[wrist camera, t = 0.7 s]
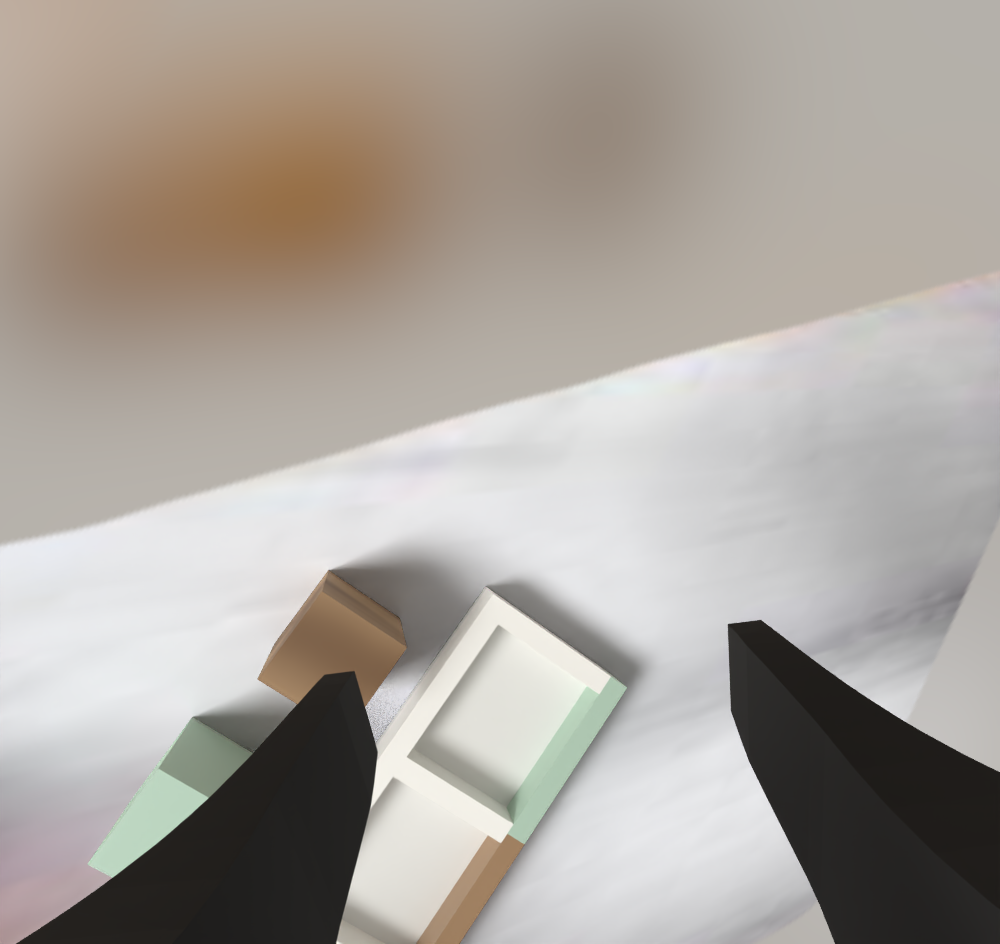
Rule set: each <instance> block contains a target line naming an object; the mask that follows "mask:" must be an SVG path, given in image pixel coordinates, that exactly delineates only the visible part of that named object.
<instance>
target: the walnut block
mask: <svg viewBox="0 0 1000 944" xmlns="http://www.w3.org/2000/svg"><path fill="white" fill-rule="evenodd" d="M406 648H407V646H406V641H405V637H404V633H403V629H402V625H401V621H400V618H399V617H397V616H396V615H394V614H393V613H391V612H390V611H388V610H387V609H385V608H384V607H382V606H381V605H379V604H378V603H376V602H375V601H373V600H372V599H370V598H369V597H367V596H366V595H364V594H363V593H361V592H360V591H358V590H357V589H355V588H354V587H353V586H351V585H350V584H348V583H347V582H345V581H344V580H342V579H341V578H339V577H338V576H336V575H335V574H333V573H332V572H330V571H329V570H328V572H327V573H326V574H325V576H324V577H323V578H322V580H321V581H320V582H319V584H318V585H317V587H316V588H315V589H314V591H313V592H312V593H311V595H310V596H309V597H308V599H307V600H306V602H305V603H304V604H303V606H302V607H301V608H300V610H299V611H298V612H297V614H296V615H295V617H294V618H293V619H292V621H291V622H290V623H289V625H288V626H287V627H286V629H285V630H284V632H283V633H282V634H281V636H280V637H279V638H278V640H277V641H276V642H275V644H274V646H273V648H272V650H271V652H270V654H269V656H268V659H267V661H266V663H265V665H264V667H263V669H262V671H261V673H260V675H259V677H258V680H259V681H261V682H263V683H264V684H266V685H267V686H269V687H271V688H272V689H274V690H275V691H277V692H279V693H280V694H282V695H284V696H285V697H287V698H288V699H290V700H292V701H293V702H295V703H296V704H298V703H299V702H300V701H301V700H302V699H303V697H304V696H305V695H306V694H307V693H308V692H309V691H310V690H311V688H312V687H313V686H314V685H315V684H316V683H317V682H318V681H319V680H320V679H321V678H322V677H323V676H324V675H325V674H333V673H341V672H349V671H355V674H356V678H357V681H358V685H359V688H360V692H361V695H362V698H363V702H364V705H365V706H366V705H367V703H368V702H369V701H370V699H371V698H372V696H373V695H374V694H375V692H376V691H377V689H378V688H379V686H380V685H381V684H382V682H383V681H384V679H385V678H386V677H387V675H388V674H389V672H390V671H391V670H392V668H393V667H394V665H395V664H396V662H397V661H398V660H399V658H400V657H401V655H402V654H403V653H404V651H405V650H406Z"/></svg>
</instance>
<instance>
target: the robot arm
mask: <svg viewBox="0 0 1000 944" xmlns="http://www.w3.org/2000/svg"><path fill="white" fill-rule="evenodd" d="M728 642H729V668H730V695H731V712H732V715H733V718H734V721H735V724H736V726H737V729H738V732H739V735H740V738H741V741H742V743H743V746H744V749H745V751H746V754H747V757H748V759H749V762H750V764H751V766H752V768H753V770H754V772H755V774H756V776H757V778H758V780H759V783H760V785H761V787H762V789H763V791H764V793H765V795H766V797H767V799H768V801H769V803H770V805H771V807H772V809H773V811H774V813H775V815H776V817H777V819H778V821H779V823H780V825H781V827H782V828H783V830H784V832H785V834H786V836H787V838H788V840H789V842H790V844H791V846H792V848H793V850H794V852H795V854H796V856H797V858H798V860H799V862H800V864H801V866H802V868H803V870H804V872H805V874H806V876H807V878H808V880H809V883H810V885H811V887H812V889H813V891H814V893H815V896H816V898H817V900H818V902H819V904H820V907H821V909H822V911H823V914H824V917H825V919H826V922H827V924H828V926H829V929H830V932H831V934H832V937H833V939H834V942H835V944H1000V772H998V771H996V770H994V769H992V768H990V767H988V766H986V765H984V764H982V763H980V762H978V761H975V760H974V759H972V758H970V757H968V756H966V755H964V754H962V753H960V752H958V751H956V750H955V749H953V748H951V747H949V746H947V745H945V744H943V743H942V742H940V741H938V740H936V739H934V738H933V737H931V736H929V735H927V734H925V733H923V732H922V731H920V730H918V729H916V728H915V727H913V726H911V725H910V724H908V723H906V722H905V721H903V720H901V719H900V718H898V717H896V716H895V715H893V714H892V713H890V712H889V711H887V710H885V709H884V708H882V707H881V706H879V705H877V704H876V703H874V702H873V701H871V700H870V699H868V698H867V697H865V696H864V695H862V694H861V693H859V692H858V691H856V690H855V689H853V688H852V687H850V686H849V685H847V684H846V683H844V682H843V681H842V680H840V679H839V678H837V677H836V676H835V675H833V674H832V673H830V672H829V671H828V670H826V669H825V668H823V667H822V666H821V665H819V664H818V663H817V662H815V661H814V660H813V659H811V658H810V657H809V656H807V655H806V654H805V653H803V652H802V651H801V650H799V649H798V648H797V647H796V646H794V645H793V644H792V643H790V642H789V641H788V640H786V639H785V638H784V637H783V636H781V635H780V634H779V633H777V632H776V631H775V630H773V629H772V628H771V627H770V626H768V625H767V624H766V623H764V622H763V621H762V620H757V621H749V622H741V623H733V624H728ZM377 756H378V751H377V747H376V744H375V740H374V737H373V733H372V730H371V726H370V723H369V719H368V716H367V712H366V709H365V705H364V702H363V698H362V695H361V692H360V688H359V685H358V681H357V678H356V674H355V671H349V672H341V673H333V674H325V675H324V676H323V677H322V678H321V679H320V680H319V681H318V682H317V683H316V684H315V685H314V686H313V687H312V688H311V690H310V691H309V692H308V693H307V694H306V695H305V696H304V697H303V699H302V700H301V701H300V702H299V703H298V704H297V705H296V707H295V708H294V709H293V710H292V711H291V712H290V713H289V714H288V716H287V717H286V718H285V719H284V720H283V721H282V722H281V723H280V724H279V726H278V727H277V728H276V729H275V730H274V731H273V732H272V733H271V734H270V735H269V737H268V738H267V739H266V740H265V741H264V742H263V743H262V744H261V745H260V746H259V748H258V749H257V750H256V751H255V752H254V753H253V754H252V755H251V756H250V757H249V758H248V759H247V760H246V761H245V762H244V763H243V764H242V765H241V766H240V767H239V768H238V769H237V770H236V771H235V772H234V773H233V774H232V775H231V776H230V777H229V778H228V779H227V780H226V781H225V782H224V783H223V784H222V785H221V786H220V787H219V788H218V789H217V790H216V791H215V792H214V793H213V794H212V795H211V796H210V797H209V798H208V799H207V800H206V801H205V802H204V803H203V804H202V805H200V806H199V807H198V808H197V809H196V810H195V811H194V812H193V813H192V814H191V815H189V816H188V817H187V818H186V819H185V820H184V821H183V822H181V823H180V824H179V825H178V826H177V827H176V828H174V829H173V830H172V831H171V832H170V833H169V834H168V835H166V836H165V837H164V838H163V839H162V840H160V841H159V842H158V843H157V844H156V845H154V846H153V847H152V848H150V849H149V850H148V851H147V852H145V853H144V854H143V855H141V856H140V857H139V858H137V859H136V860H135V861H134V862H132V863H131V864H130V865H128V866H127V867H126V868H125V869H123V870H122V871H121V872H119V873H118V874H117V875H115V876H114V877H113V878H112V879H110V880H109V881H108V882H106V883H105V884H104V885H102V886H101V887H100V888H98V889H97V890H96V891H94V892H93V893H91V894H90V895H88V896H87V897H86V898H84V899H83V900H81V901H80V902H78V903H77V904H76V905H74V906H73V907H71V908H70V909H68V910H67V911H65V912H64V913H62V914H61V915H59V916H58V917H56V918H55V919H53V920H52V921H50V922H49V923H47V924H46V925H44V926H43V927H41V928H40V929H38V930H37V931H35V932H34V933H32V934H31V935H29V936H27V937H26V938H24V939H23V940H21V941H20V942H18V943H16V944H336V942H337V938H338V933H339V929H340V924H341V920H342V917H343V913H344V909H345V905H346V901H347V897H348V893H349V890H350V886H351V882H352V878H353V874H354V870H355V867H356V863H357V859H358V855H359V851H360V847H361V843H362V839H363V835H364V832H365V828H366V824H367V820H368V816H369V811H370V807H371V803H372V796H373V788H374V781H375V773H376V764H377Z"/></svg>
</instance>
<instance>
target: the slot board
mask: <svg viewBox="0 0 1000 944" xmlns="http://www.w3.org/2000/svg"><path fill="white" fill-rule="evenodd" d="M626 689H627V687H626V686H625V685H623V684H622V683H621V682H620V681H619V680H618V679H616V678H615V677H614V676H613V675H612V674H610V673H609V672H607V671H606V670H604V669H603V668H602V667H600V666H599V665H597V664H596V663H594V662H593V661H592V660H590V659H589V658H587V657H586V656H584V655H583V654H582V653H580V652H579V651H577V650H576V649H574V648H573V647H572V646H570V645H569V644H567V643H566V642H564V641H563V640H562V639H560V638H559V637H557V636H556V635H554V634H553V633H552V632H550V631H549V630H547V629H546V628H544V627H543V626H542V625H540V624H539V623H537V622H536V621H534V620H533V619H532V618H530V617H529V616H527V615H526V614H525V613H523V612H522V611H520V610H519V609H517V608H516V607H515V606H513V605H512V604H510V603H509V602H507V601H506V600H505V599H503V598H502V597H500V596H499V595H497V594H496V593H495V592H493V591H492V590H490V589H489V588H487V587H486V586H485V588H484V589H483V591H482V592H481V594H480V595H479V596H478V598H477V599H476V601H475V602H474V604H473V605H472V606H471V608H470V609H469V611H468V612H467V614H466V615H465V616H464V618H463V619H462V621H461V622H460V624H459V625H458V626H457V628H456V629H455V631H454V632H453V634H452V635H451V636H450V638H449V639H448V641H447V642H446V644H445V645H444V646H443V648H442V649H441V651H440V652H439V654H438V655H437V656H436V658H435V659H434V661H433V662H432V664H431V665H430V667H429V668H428V669H427V671H426V672H425V674H424V675H423V677H422V678H421V679H420V681H419V682H418V684H417V685H416V687H415V688H414V689H413V691H412V692H411V694H410V695H409V697H408V698H407V699H406V701H405V702H404V704H403V705H402V707H401V708H400V709H399V711H398V712H397V714H396V715H395V717H394V718H393V719H392V721H391V722H390V724H389V725H388V727H387V728H386V729H385V731H384V732H383V734H382V735H381V737H380V738H379V740H378V741H377V742H376V747H377V751H378V756H377V764H376V773H375V781H374V788H373V796H372V803H371V807H370V811H369V816H368V820H367V824H366V828H365V832H364V835H363V839H362V843H361V847H360V851H359V855H358V859H357V863H356V867H355V870H354V874H353V878H352V882H351V886H350V890H349V893H348V897H347V901H346V905H345V909H344V913H343V917H342V920H341V924H340V929H339V933H338V938H337V942H336V944H460V942H461V940H462V939H463V937H464V936H465V934H466V933H467V931H468V930H469V928H470V927H471V925H472V924H473V922H474V921H475V919H476V918H477V916H478V915H479V913H480V911H481V910H482V908H483V907H484V905H485V904H486V902H487V901H488V899H489V898H490V896H491V895H492V893H493V892H494V890H495V889H496V887H497V886H498V884H499V882H500V881H501V879H502V878H503V876H504V875H505V873H506V872H507V870H508V869H509V867H510V866H511V864H512V863H513V861H514V860H515V858H516V857H517V855H518V854H519V852H520V850H521V849H522V847H523V846H524V844H525V843H526V841H527V840H528V838H529V837H530V835H531V834H532V832H533V831H534V829H535V828H536V826H537V825H538V823H539V821H540V820H541V818H542V817H543V815H544V814H545V812H546V811H547V809H548V808H549V806H550V805H551V803H552V802H553V800H554V799H555V797H556V796H557V794H558V792H559V791H560V789H561V788H562V786H563V785H564V783H565V782H566V780H567V779H568V777H569V776H570V774H571V773H572V771H573V770H574V768H575V767H576V765H577V764H578V762H579V760H580V759H581V757H582V756H583V754H584V753H585V751H586V750H587V748H588V747H589V745H590V744H591V742H592V741H593V739H594V738H595V736H596V735H597V733H598V731H599V730H600V728H601V727H602V725H603V724H604V722H605V721H606V719H607V718H608V716H609V715H610V713H611V712H612V710H613V709H614V707H615V706H616V704H617V702H618V701H619V699H620V698H621V696H622V695H623V693H624V692H625V690H626Z"/></svg>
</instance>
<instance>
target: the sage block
mask: <svg viewBox="0 0 1000 944" xmlns="http://www.w3.org/2000/svg"><path fill="white" fill-rule="evenodd" d="M252 754H253V753H252V752H250V751H249V750H247V749H245V748H244V747H242V746H240V745H239V744H237V743H235V742H234V741H232V740H230V739H228V738H227V737H225V736H223V735H222V734H220V733H218V732H217V731H215V730H213V729H212V728H210V727H208V726H207V725H205V724H203V723H202V722H200V721H198V720H197V719H195V718H193V717H192V718H191V720H190V721H189V722H188V724H187V725H186V726H185V728H184V729H183V730H182V732H181V733H180V735H179V736H178V737H177V739H176V740H175V741H174V743H173V744H172V745H171V747H170V748H169V749H168V751H167V752H166V753H165V755H164V756H163V758H162V759H161V760H160V762H159V763H158V764H157V766H156V767H155V768H154V770H153V771H152V772H151V774H150V775H149V776H148V778H147V779H146V781H145V782H144V783H143V785H142V786H141V787H140V789H139V790H138V791H137V793H136V794H135V795H134V797H133V798H132V800H131V801H130V803H129V804H128V806H127V807H126V809H125V810H124V812H123V813H122V814H121V816H120V817H119V819H118V820H117V822H116V823H115V825H114V826H113V828H112V829H111V831H110V832H109V834H108V835H107V836H106V838H105V839H104V841H103V842H102V844H101V845H100V847H99V848H98V850H97V851H96V853H95V854H94V856H93V857H92V858H91V860H90V861H89V863H88V865H90V866H92V867H93V868H95V869H97V870H99V871H101V872H103V873H105V874H107V875H108V876H110V877H112V878H113V877H114V876H115V875H117V874H118V873H119V872H121V871H122V870H123V869H125V868H126V867H127V866H128V865H130V864H131V863H132V862H134V861H135V860H136V859H137V858H139V857H140V856H141V855H143V854H144V853H145V852H147V851H148V850H149V849H150V848H152V847H153V846H154V845H156V844H157V843H158V842H159V841H160V840H162V839H163V838H164V837H165V836H166V835H168V834H169V833H170V832H171V831H172V830H173V829H174V828H176V827H177V826H178V825H179V824H180V823H181V822H183V821H184V820H185V819H186V818H187V817H188V816H189V815H191V814H192V813H193V812H194V811H195V810H196V809H197V808H198V807H199V806H200V805H202V804H203V803H204V802H205V801H206V800H207V799H208V798H209V797H210V796H211V795H212V794H213V793H214V792H215V791H216V790H217V789H218V788H219V787H220V786H221V785H222V784H223V783H224V782H225V781H226V780H227V779H228V778H229V777H230V776H231V775H232V774H233V773H234V772H235V771H236V770H237V769H238V768H239V767H240V766H241V765H242V764H243V763H244V762H245V761H246V760H247V759H248V758H249V757H250V756H251V755H252Z"/></svg>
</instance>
